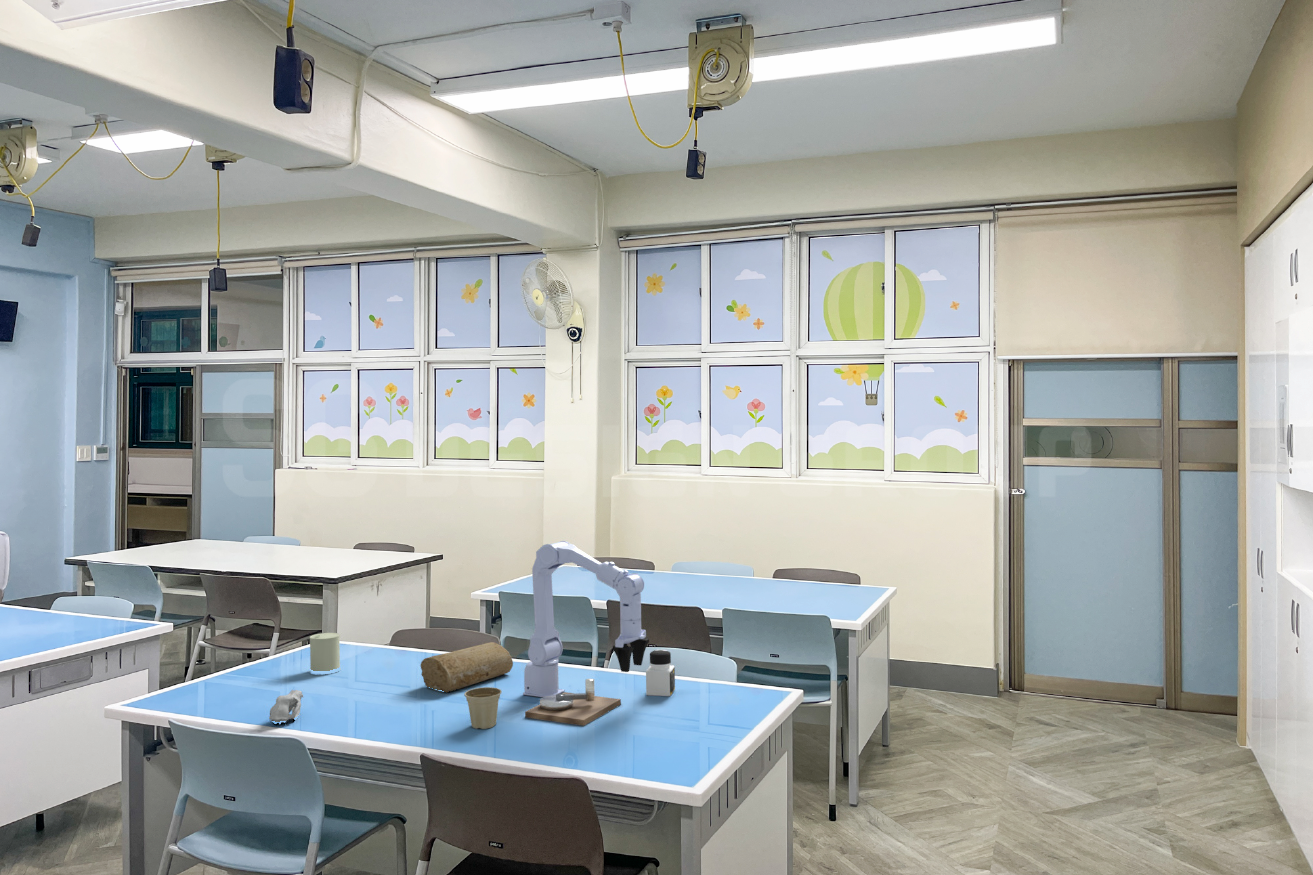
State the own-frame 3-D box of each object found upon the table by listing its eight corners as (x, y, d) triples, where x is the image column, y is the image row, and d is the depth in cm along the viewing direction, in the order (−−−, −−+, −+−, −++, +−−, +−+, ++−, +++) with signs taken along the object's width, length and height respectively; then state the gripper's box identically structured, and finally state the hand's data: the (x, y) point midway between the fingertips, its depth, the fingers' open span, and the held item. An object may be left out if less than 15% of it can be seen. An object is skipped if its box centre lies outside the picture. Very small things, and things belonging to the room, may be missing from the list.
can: (303, 672, 291) (303, 635, 291) (328, 666, 299) (328, 630, 299) (321, 676, 286) (320, 638, 286) (346, 670, 294) (345, 633, 294)
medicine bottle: (670, 696, 258) (670, 654, 258) (646, 695, 260) (645, 653, 259) (675, 689, 265) (674, 648, 265) (651, 688, 266) (650, 647, 266)
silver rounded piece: (538, 710, 241) (538, 686, 241) (540, 700, 250) (540, 677, 250) (594, 708, 242) (594, 684, 242) (594, 698, 251) (594, 675, 251)
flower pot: (484, 733, 228) (484, 699, 228) (457, 727, 233) (456, 694, 233) (509, 723, 236) (509, 690, 236) (482, 717, 241) (482, 685, 241)
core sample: (513, 675, 285) (513, 643, 285) (449, 696, 263) (449, 661, 263) (481, 669, 293) (481, 638, 293) (417, 689, 271) (416, 655, 271)
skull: (257, 718, 235) (275, 677, 244) (273, 735, 241) (289, 695, 250) (285, 717, 234) (301, 676, 243) (300, 735, 240) (315, 694, 249)
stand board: (525, 717, 241) (525, 710, 241) (565, 697, 259) (564, 691, 259) (583, 725, 233) (583, 719, 233) (620, 704, 251) (620, 698, 251)
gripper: (631, 624, 242) (632, 676, 242) (655, 615, 255) (656, 663, 255) (608, 622, 245) (609, 673, 245) (633, 613, 258) (633, 661, 258)
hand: (631, 668), depth 251 cm, fingers open, 7 cm apart
